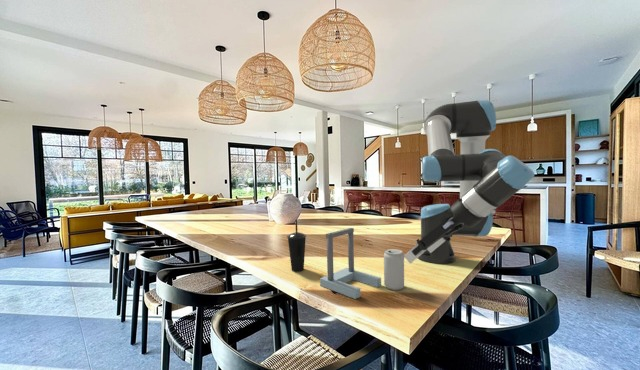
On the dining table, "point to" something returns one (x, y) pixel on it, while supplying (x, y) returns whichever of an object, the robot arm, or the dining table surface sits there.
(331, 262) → the grey arch frame
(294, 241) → the drinking cup
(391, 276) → the beverage can
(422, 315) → the dining table surface
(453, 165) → the robot arm
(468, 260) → the dining table surface
